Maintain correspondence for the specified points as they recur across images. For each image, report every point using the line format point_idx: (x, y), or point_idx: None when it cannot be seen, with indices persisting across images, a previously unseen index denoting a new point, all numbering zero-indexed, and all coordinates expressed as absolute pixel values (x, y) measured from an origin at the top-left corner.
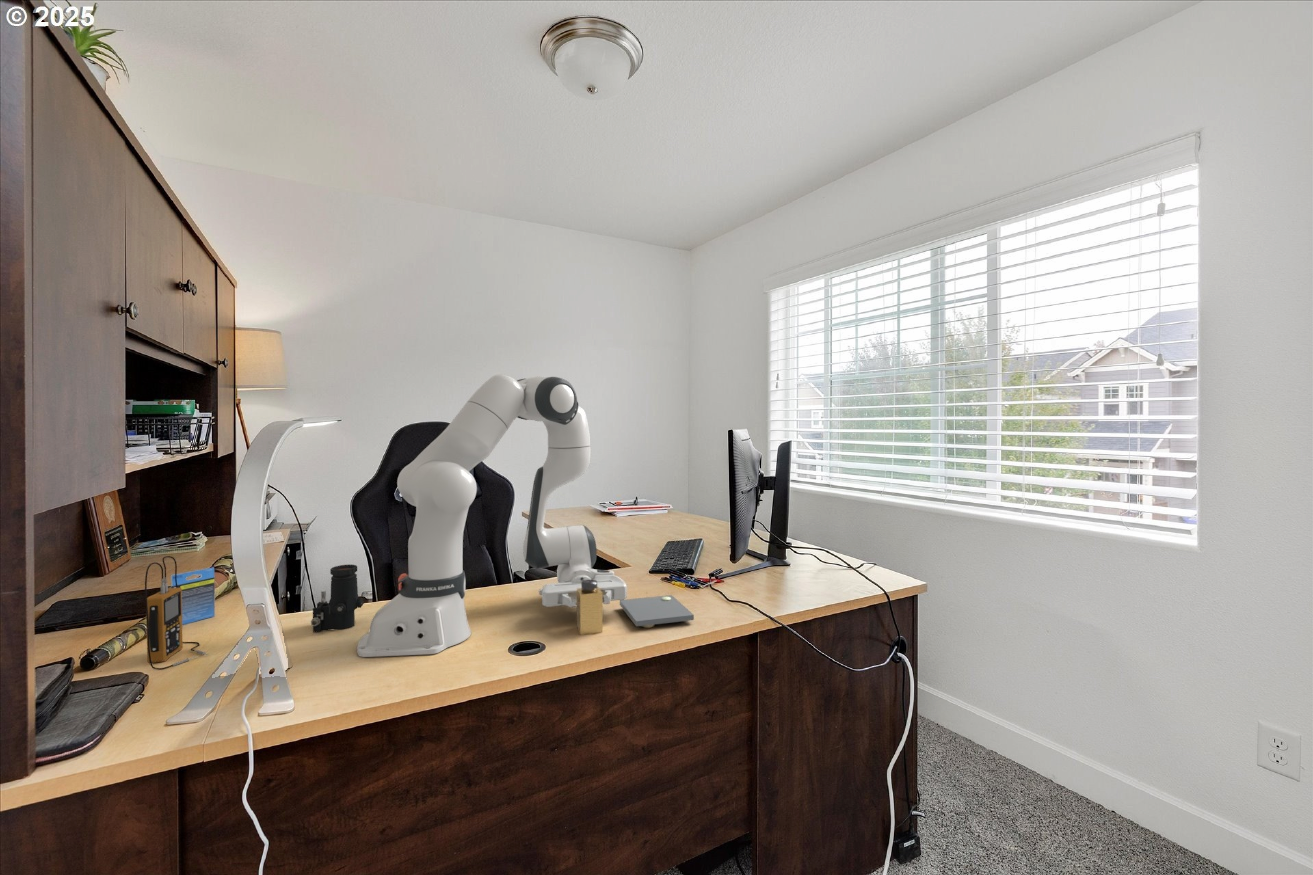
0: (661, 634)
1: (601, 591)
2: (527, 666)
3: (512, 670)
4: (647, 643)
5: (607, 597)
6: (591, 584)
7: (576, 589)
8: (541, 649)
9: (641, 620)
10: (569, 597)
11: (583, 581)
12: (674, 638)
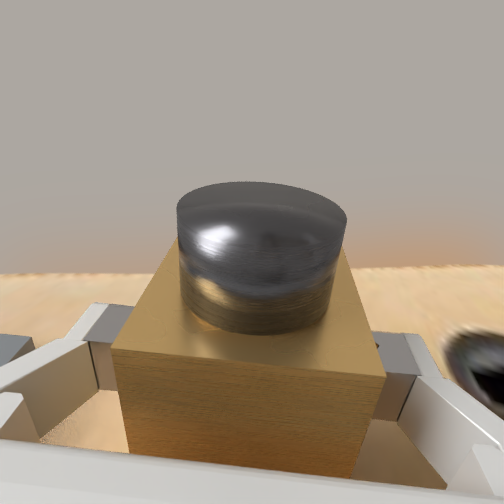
0: (3, 312)
1: (172, 246)
2: (457, 285)
3: (489, 282)
4: (107, 282)
5: (116, 305)
6: (259, 187)
7: (389, 491)
8: (456, 353)
9: (3, 336)
10: (435, 383)
11: (322, 227)
12: (6, 280)
